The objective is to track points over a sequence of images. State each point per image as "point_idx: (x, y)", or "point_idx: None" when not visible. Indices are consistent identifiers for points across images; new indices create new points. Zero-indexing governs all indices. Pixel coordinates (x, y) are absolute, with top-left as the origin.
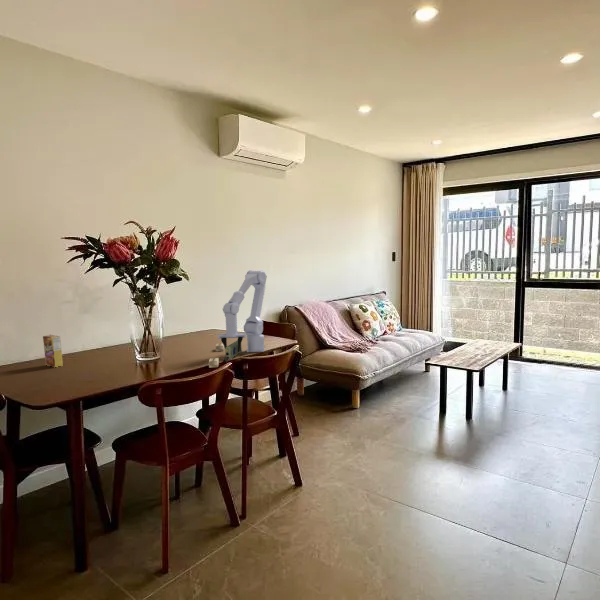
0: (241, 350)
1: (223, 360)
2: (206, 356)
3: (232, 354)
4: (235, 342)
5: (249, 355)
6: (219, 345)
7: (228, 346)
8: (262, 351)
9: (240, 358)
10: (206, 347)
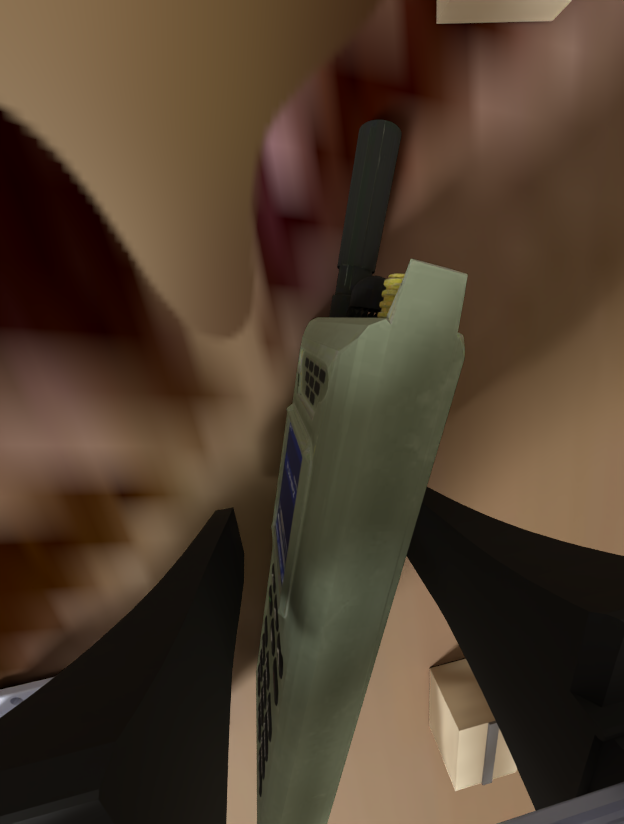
0: (257, 679)
1: (387, 132)
2: (569, 484)
3: (295, 408)
4: (312, 756)
5: (113, 536)
6: (494, 726)
7: (401, 445)
8: (5, 688)
9: (184, 388)
10: None
